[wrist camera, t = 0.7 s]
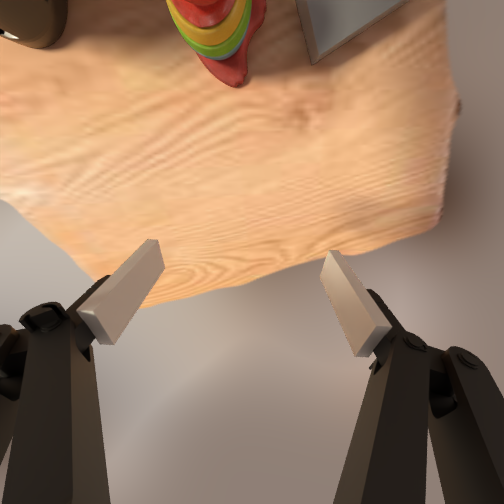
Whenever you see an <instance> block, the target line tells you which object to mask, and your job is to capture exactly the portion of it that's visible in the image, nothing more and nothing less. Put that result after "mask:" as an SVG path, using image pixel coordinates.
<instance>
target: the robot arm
mask: <svg viewBox="0 0 504 504" xmlns="http://www.w3.org/2000/svg"><path fill="white" fill-rule="evenodd" d="M66 17H67V0H0V36H1V37H4V38H6V39H8V40H11V41H13V42H16V43H18V44H21V45H24V46H27V47H32V48H43V47H47V46H49V45H51V44H53V43H54V42H55V41H56V40H57V39H58V38H59V37H60V35H61V34H62V32H63V29H64V26H65V23H66ZM164 269H165V266H164V262H163V258H162V254H161V250H160V246H159V242H158V240H153V239H147V240H146V241H145V242H144V243H143V244H142V245H141V246H140V247H139V248H138V249H137V250H136V251H135V252H134V253H133V254H132V255H131V256H130V257H129V258H128V259H127V260H126V261H125V262H124V263H123V264H122V265H121V266H120V267H119V268H118V269H117V270H116V271H115V272H114V273H113V274H112V275H106V276H105V277H103V278H101V279H99V280H98V281H97V282H96V283H95V284H94V285H92V286H91V288H89V289H88V290H87V291H86V293H84V294H83V295H82V296H81V297H80V298H79V299H78V300H77V301H75V302H74V303H73V304H72V305H71V306H70V307H69V308H68V309H67V310H66V311H65V309H64V308H63V307H62V306H61V304H60V303H58V302H48V303H44V304H41V305H38V306H36V307H34V308H32V309H30V310H29V311H27V312H26V313H25V314H24V315H22V316H21V318H20V320H19V322H20V323H21V324H22V325H23V326H24V327H25V328H26V329H20V330H15V329H14V328H12V326H11V325H6V324H3V325H0V465H1V462H2V460H3V458H4V455H5V453H6V451H7V448H8V446H9V443H10V441H11V439H12V437H13V439H12V445H11V452H10V458H9V463H8V469H7V475H6V481H5V487H4V493H3V499H2V504H111V503H110V496H109V486H108V478H107V469H106V460H105V451H104V443H103V435H102V425H101V417H100V407H99V399H98V390H97V382H96V372H95V364H94V356H93V348H92V346H91V343H92V341H93V340H94V339H95V338H96V339H97V341H98V342H99V344H106V345H114V344H115V343H116V341H117V340H118V338H119V337H120V335H121V334H122V332H123V331H124V329H125V328H126V326H127V325H128V323H129V321H130V320H131V319H132V317H133V316H134V314H135V313H136V311H137V310H138V308H139V307H140V305H141V304H142V302H143V301H144V299H145V298H146V296H147V295H148V293H149V292H150V290H151V289H152V287H153V286H154V284H155V283H156V281H157V280H158V278H159V277H160V275H161V274H162V272H163V271H164ZM320 279H321V281H322V284H323V286H324V288H325V290H326V292H327V295H328V297H329V299H330V302H331V304H332V306H333V308H334V310H335V313H336V315H337V318H338V320H339V322H340V324H341V326H342V329H343V331H344V333H345V336H346V338H347V340H348V342H349V345H350V347H351V349H352V351H353V354H354V356H355V357H369V356H370V355H371V353H372V352H374V354H375V355H376V357H377V358H376V360H375V361H374V362H373V363H372V364H371V366H370V367H369V369H370V370H371V369H372V371H371V375H370V378H369V381H368V385H367V388H366V392H365V395H364V399H363V402H362V405H361V409H360V412H359V416H358V419H357V423H356V426H355V430H354V433H353V437H352V440H351V443H350V447H349V450H348V454H347V457H346V461H345V464H344V467H343V471H342V474H341V478H340V481H339V485H338V488H337V492H336V495H335V499H334V502H333V504H425V496H426V465H427V435H428V434H427V433H428V429H429V433H430V437H431V442H432V447H433V451H434V455H435V460H436V464H437V469H438V473H439V478H440V482H441V487H442V491H443V495H444V500H445V504H504V398H503V396H502V394H501V392H500V391H499V388H498V387H497V385H496V383H495V381H494V379H493V378H492V376H491V374H490V372H489V370H488V368H487V367H486V366H485V364H484V363H483V362H482V361H481V360H480V359H479V358H478V357H477V356H475V355H474V354H472V353H471V352H469V351H467V350H465V349H463V348H460V347H456V346H453V347H450V348H449V349H448V350H446V351H443V350H440V349H437V348H434V347H431V346H428V345H427V344H426V343H425V342H424V341H423V340H422V339H421V338H420V337H418V336H416V335H415V334H413V333H410V332H407V331H406V330H405V329H404V328H403V327H402V325H401V324H400V323H399V321H398V320H397V319H396V317H395V316H394V315H393V313H392V312H391V311H390V310H389V309H388V307H387V305H386V304H384V301H383V300H382V299H381V297H380V296H379V295H378V294H377V293H375V292H374V291H373V290H371V289H365V287H364V286H363V284H362V283H361V282H360V280H359V279H358V277H357V276H356V274H355V273H354V272H353V270H352V269H351V267H350V266H349V265H348V263H347V262H346V260H345V259H344V257H343V256H342V254H341V253H340V252H339V251H337V250H329V251H328V254H327V257H326V260H325V263H324V266H323V269H322V272H321V275H320Z"/></svg>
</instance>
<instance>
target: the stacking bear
mask: <svg viewBox="0 0 504 504" xmlns="http://www.w3.org/2000/svg"><path fill="white" fill-rule="evenodd" d="M166 2H167V5H168V8H169V11H170V14H171V16H172V18H173V21H174V23H175V25H176V27H177V28H178V30H179V32H180V34H181V35H182V37H183V38H184V39H185V41H186V42H187V43H188V44H189V45H190V47H191V48H192V49H194V50H195V51H196V53H197V55H198V57H199V58H200V60H201V61H202V63H203V64H204V65H205V67H206V68H207V69H208V70H209V71H210V72H211V73H212V74H213V75H214V76H215V77H216V78H217V79H219V80H220V81H221V82H223V83H225V84H226V85H228V86H231V87H237V86H238V84H242V83H243V82H244V78H245V76H246V75H247V71H248V70H247V48H248V44H249V41H250V39H251V37H252V35H253V34H254V32H255V31H256V30H257V29H258V28H259V27H260V26H261V24H262V23H263V21H264V13H265V12H266V0H166Z"/></svg>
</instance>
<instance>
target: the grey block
mask: <svg viewBox="0 0 504 504" xmlns="http://www.w3.org/2000/svg"><path fill="white" fill-rule="evenodd" d="M295 1H296V5H297V9H298V13H299V17H300V21H301V25H302V29H303V32H304V36H305V40H306V44H307V48H308V52H309V56H310V60H311V64H312V65H313V64H315V63H316V62H318V61H319V60H321V59H322V58H324V57H325V56H327V55H328V54H330V53H331V52H333V51H334V50H336V49H337V48H339V47H340V46H342V45H343V44H345V43H346V42H348V41H349V40H351V39H352V38H354V37H355V36H357V35H358V34H360V33H361V32H363V31H364V30H366V29H367V28H369V27H370V26H372V25H373V24H375V23H376V22H378V21H379V20H381V19H382V18H384V17H385V16H387V15H388V14H390V13H391V12H393V11H394V10H396V9H397V8H399V7H400V6H402V5H403V4H405V3H406V2H408V1H409V0H295Z"/></svg>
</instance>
